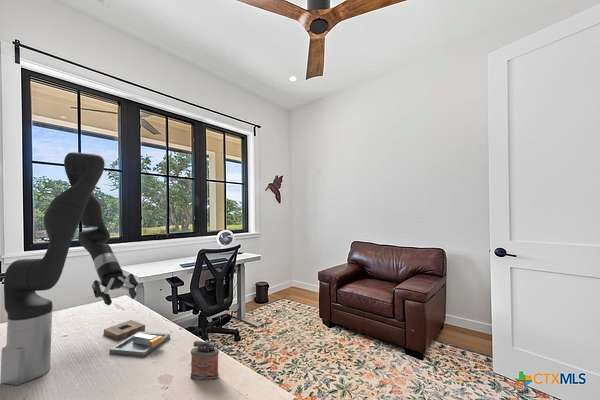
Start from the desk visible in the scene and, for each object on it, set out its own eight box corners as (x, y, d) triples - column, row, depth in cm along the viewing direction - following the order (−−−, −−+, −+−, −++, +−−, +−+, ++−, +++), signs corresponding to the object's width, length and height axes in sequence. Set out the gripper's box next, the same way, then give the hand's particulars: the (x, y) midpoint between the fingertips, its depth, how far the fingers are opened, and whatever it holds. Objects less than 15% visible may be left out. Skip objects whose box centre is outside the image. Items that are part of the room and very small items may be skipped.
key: (130, 343, 94) (152, 348, 89) (130, 336, 94) (151, 340, 89) (141, 338, 97) (163, 342, 92) (141, 331, 97) (162, 335, 92)
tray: (144, 357, 86) (144, 352, 86) (109, 353, 88) (109, 349, 88) (170, 338, 99) (170, 333, 99) (138, 335, 101) (139, 331, 101)
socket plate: (117, 340, 97) (117, 335, 97) (103, 334, 102) (103, 329, 102) (144, 330, 106) (145, 324, 106) (130, 324, 111) (130, 319, 111)
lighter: (220, 374, 77) (220, 339, 78) (215, 381, 74) (216, 344, 74) (194, 372, 78) (194, 337, 79) (188, 379, 75) (188, 343, 75)
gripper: (90, 263, 99) (105, 300, 93) (130, 258, 111) (145, 289, 105) (83, 276, 101) (97, 312, 95) (122, 269, 114) (137, 301, 108)
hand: (122, 300), depth 100 cm, fingers open, 8 cm apart
